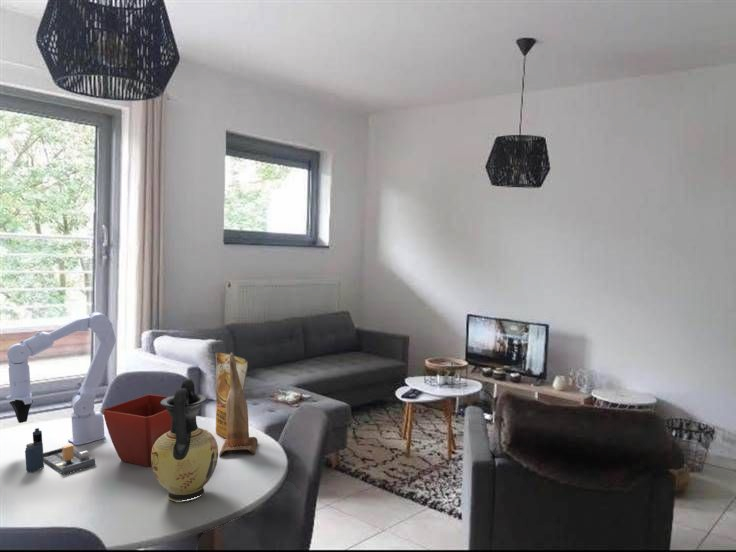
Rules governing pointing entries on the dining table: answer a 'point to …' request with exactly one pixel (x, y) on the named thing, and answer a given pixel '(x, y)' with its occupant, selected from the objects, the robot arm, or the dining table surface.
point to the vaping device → (34, 452)
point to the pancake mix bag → (226, 387)
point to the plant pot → (137, 427)
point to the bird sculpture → (237, 415)
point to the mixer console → (77, 463)
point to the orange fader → (68, 453)
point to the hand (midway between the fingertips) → (22, 421)
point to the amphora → (184, 447)
